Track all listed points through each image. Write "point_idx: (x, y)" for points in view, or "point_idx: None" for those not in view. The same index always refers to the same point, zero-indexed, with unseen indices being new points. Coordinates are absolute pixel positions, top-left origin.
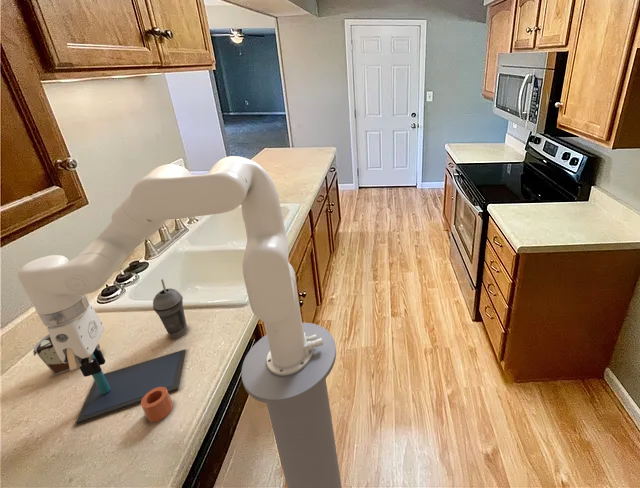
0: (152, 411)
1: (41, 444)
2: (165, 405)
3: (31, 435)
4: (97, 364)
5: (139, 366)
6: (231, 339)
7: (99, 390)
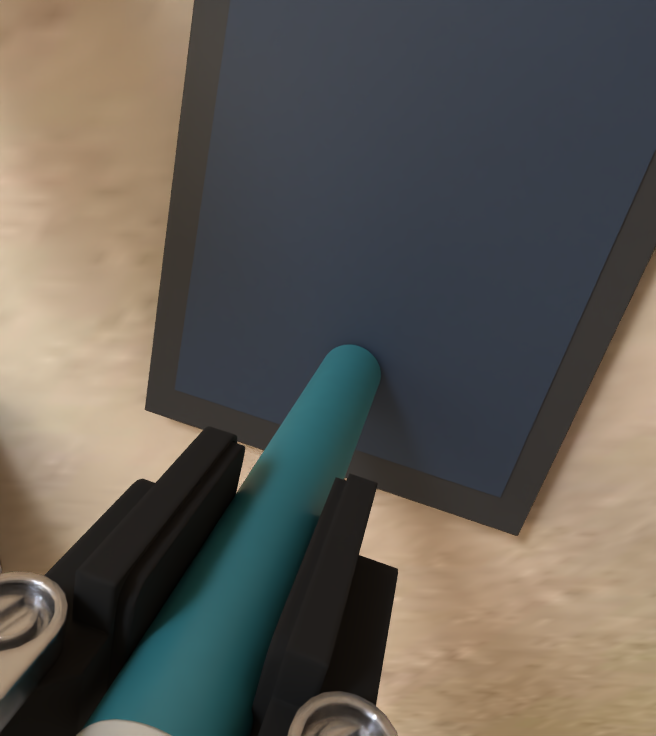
0: None
1: (516, 653)
2: None
3: (402, 675)
4: (350, 573)
5: (225, 127)
6: None
7: None
